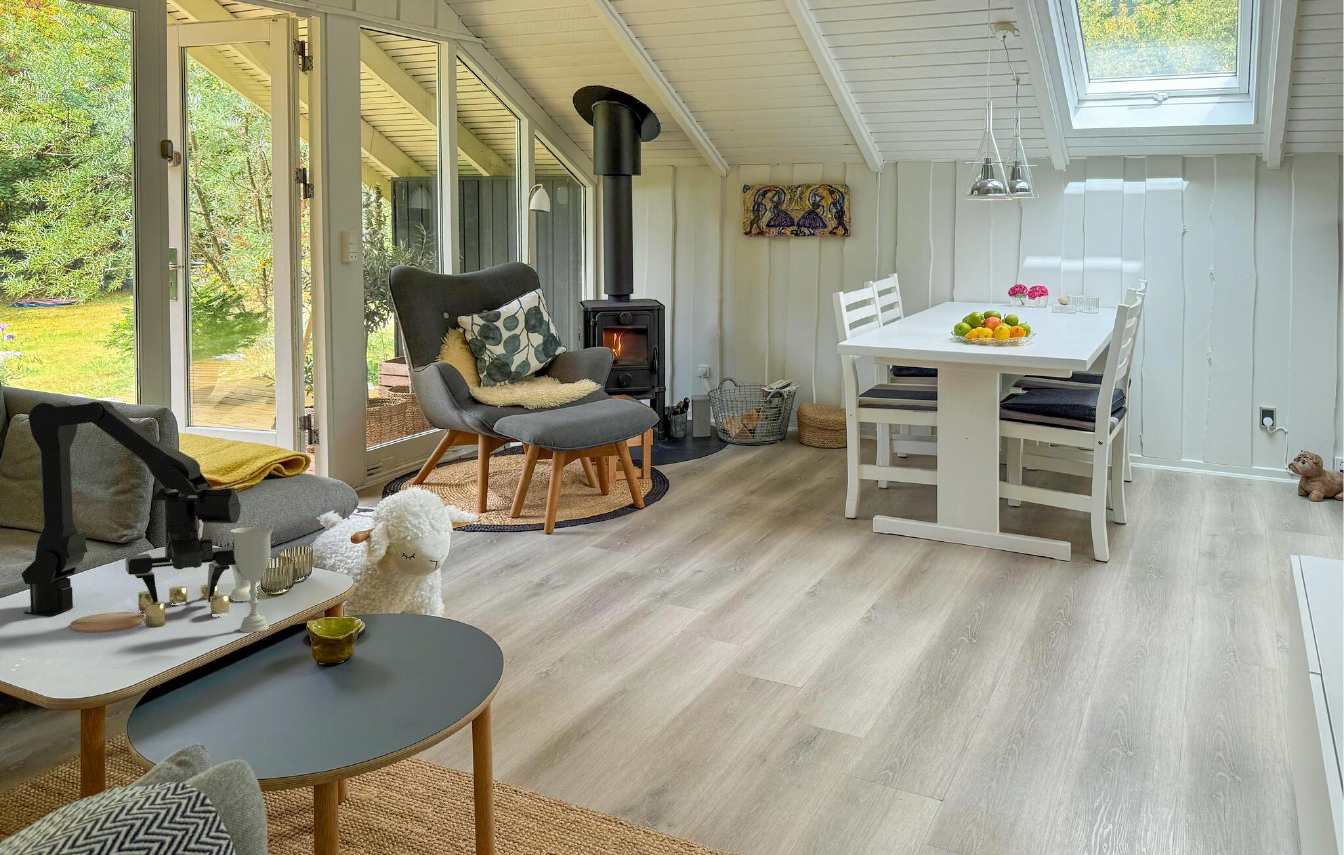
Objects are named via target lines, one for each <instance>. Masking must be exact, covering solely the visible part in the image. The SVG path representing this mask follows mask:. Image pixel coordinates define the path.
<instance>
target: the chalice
mask: <svg viewBox="0 0 1344 855" xmlns="http://www.w3.org/2000/svg"><path fill="white" fill-rule="evenodd" d="M273 531H274V528H273V527H267V526H250V527H249V526H248V527H240V528H233V529H231V530H230V533H231V534H232V537H233V550H234V559H235V561H236V564H235V565H236V566H237V569H238V570H239V572H240V574H241V576H242V577H243V579H245V580H247V581H250V585H251V586H250V591H249V593H250V596H251V598H250V601H249V602H247V603H248V604H249V606H250V612H249V613H248V615H246V616H244V618H243V619H242V622H241V624H240V627H239V629H240V632H243V633H255V632H256V633H258V632H262V631H266V630H269V629H270V626H269V625H268V624H267V619H266V617H265V616H264V615H263V614H259V612H258V609H257V606H258V603H260V601H259V599H258V600H257V598H256V595H257V593H258V591H257V588H256V587H257V582H258V581H259V580H262V579H263V576H264V574H265V571H266V569H267V568H268V565H269V562H270V559H271V555H272V554H271V553H272V552H271V548H272V547H271V535H272V533H273Z"/></svg>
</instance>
